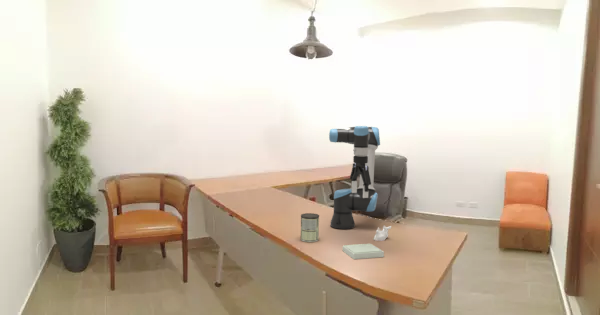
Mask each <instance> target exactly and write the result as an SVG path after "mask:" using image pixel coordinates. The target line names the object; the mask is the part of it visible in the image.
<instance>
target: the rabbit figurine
mask: <svg viewBox="0 0 600 315" xmlns="http://www.w3.org/2000/svg"><path fill="white" fill-rule="evenodd" d="M391 228H392V225H390V226H386V225H383V226H382V228H380V227H377V229H376V230H375V234H374V237H373V241H378V242H381V241H383V242H384V241H385V240H386V239H387V238H388V236H389V230H391ZM381 229H382V230H381Z"/></svg>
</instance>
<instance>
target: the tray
mask: <svg viewBox="0 0 600 315" xmlns="http://www.w3.org/2000/svg"><path fill="white" fill-rule="evenodd" d="M342 252H344V253H345V254H346V255H347V256H349V257H350V258H351V259H353V260H361V259H377V258H384V257H385V252H384V250H382V249H381V248H379V247H378V246H376V245H374V244H372V243H360V244H359V243H356V244H347V245H346V244H344V245H342Z"/></svg>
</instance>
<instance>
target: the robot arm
mask: <svg viewBox="0 0 600 315" xmlns="http://www.w3.org/2000/svg"><path fill="white" fill-rule="evenodd" d="M328 135H329V137H328V138H329V142H330V143H344V144H350V145H353V156H352V157H353V163H352V168H351V172H350V176H349V180H351V188H343V189H338V190H334V194H333V214H332V218H331V219H330V227H332V228H334V229H340V230H341V229H342V230H350V229H354V228H355V224H356V223H355V219H354V217H353V211H356V212H357V211H358V212H359V211H360V212H363V211H365V212H366V213H367V212H374V211H375V210H376V208H377V202H378V195H379V194H378V193H377V192H376V191H377V190H376V188H374V183H375V182H374V178H375V161H376V160H375V159H376V157H375V156H376V150H377V149H379V146H380V145H381V140H380V129H379V128H378V127H375V126H366V125H355V126H350V127H345V128H331V129H330V130H329V134H328ZM358 177H359V182H358ZM358 184H359V186H358Z"/></svg>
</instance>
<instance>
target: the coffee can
mask: <svg viewBox="0 0 600 315" xmlns="http://www.w3.org/2000/svg"><path fill="white" fill-rule="evenodd" d="M319 223H320V214H318V213H314V212H313V213H312V212H311V213H310V212H309V213H307V212H306V213H302V214H301V215H300V241H302V242H304V243H315V242H318V241H319V225H320V224H319Z"/></svg>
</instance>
